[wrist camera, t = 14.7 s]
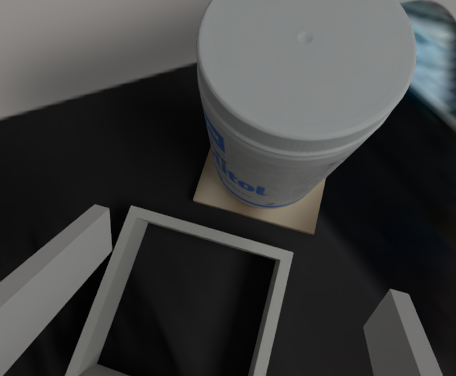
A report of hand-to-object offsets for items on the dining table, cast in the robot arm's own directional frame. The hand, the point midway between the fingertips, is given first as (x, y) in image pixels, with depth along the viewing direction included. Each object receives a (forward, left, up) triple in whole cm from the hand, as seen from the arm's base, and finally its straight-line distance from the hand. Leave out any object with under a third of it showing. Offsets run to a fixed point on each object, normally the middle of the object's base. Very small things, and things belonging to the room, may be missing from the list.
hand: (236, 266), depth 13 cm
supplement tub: (0, +10, -11) cm, 15 cm away
